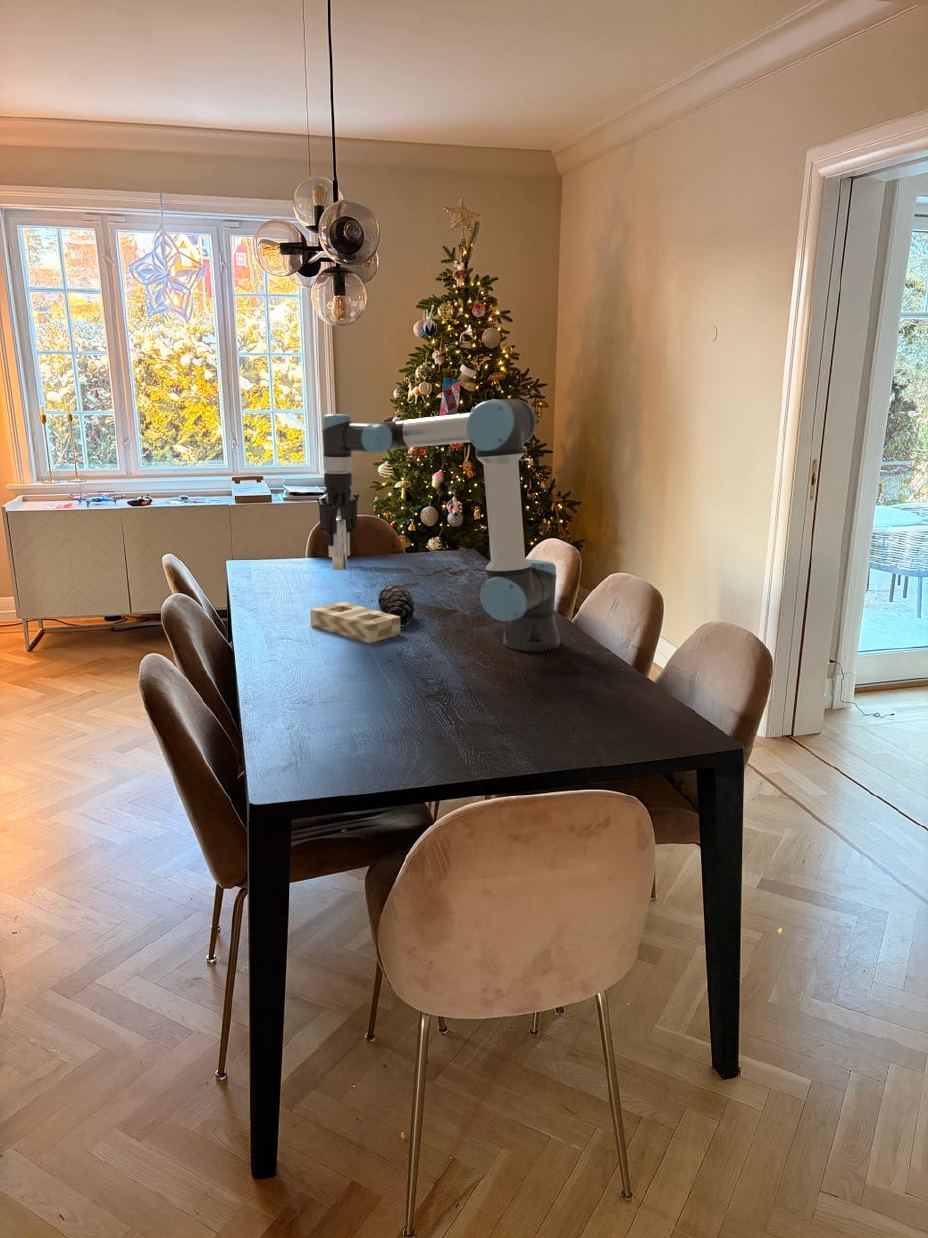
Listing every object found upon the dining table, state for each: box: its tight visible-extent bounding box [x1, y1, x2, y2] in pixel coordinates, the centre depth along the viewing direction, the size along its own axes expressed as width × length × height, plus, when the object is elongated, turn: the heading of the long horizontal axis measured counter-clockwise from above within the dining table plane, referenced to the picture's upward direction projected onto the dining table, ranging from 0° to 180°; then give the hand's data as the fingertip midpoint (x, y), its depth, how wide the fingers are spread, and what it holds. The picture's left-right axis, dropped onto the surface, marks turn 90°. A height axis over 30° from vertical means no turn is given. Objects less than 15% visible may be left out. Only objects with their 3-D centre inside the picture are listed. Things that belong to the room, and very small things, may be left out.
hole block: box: [309, 601, 401, 644], centre depth 251 cm, size 24×12×5 cm, turn 49°
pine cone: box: [377, 584, 416, 625], centre depth 261 cm, size 10×18×10 cm, turn 21°
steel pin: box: [331, 517, 348, 571], centre depth 249 cm, size 4×4×14 cm
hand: (339, 555), depth 250 cm, fingers closed on steel pin, 4 cm apart
